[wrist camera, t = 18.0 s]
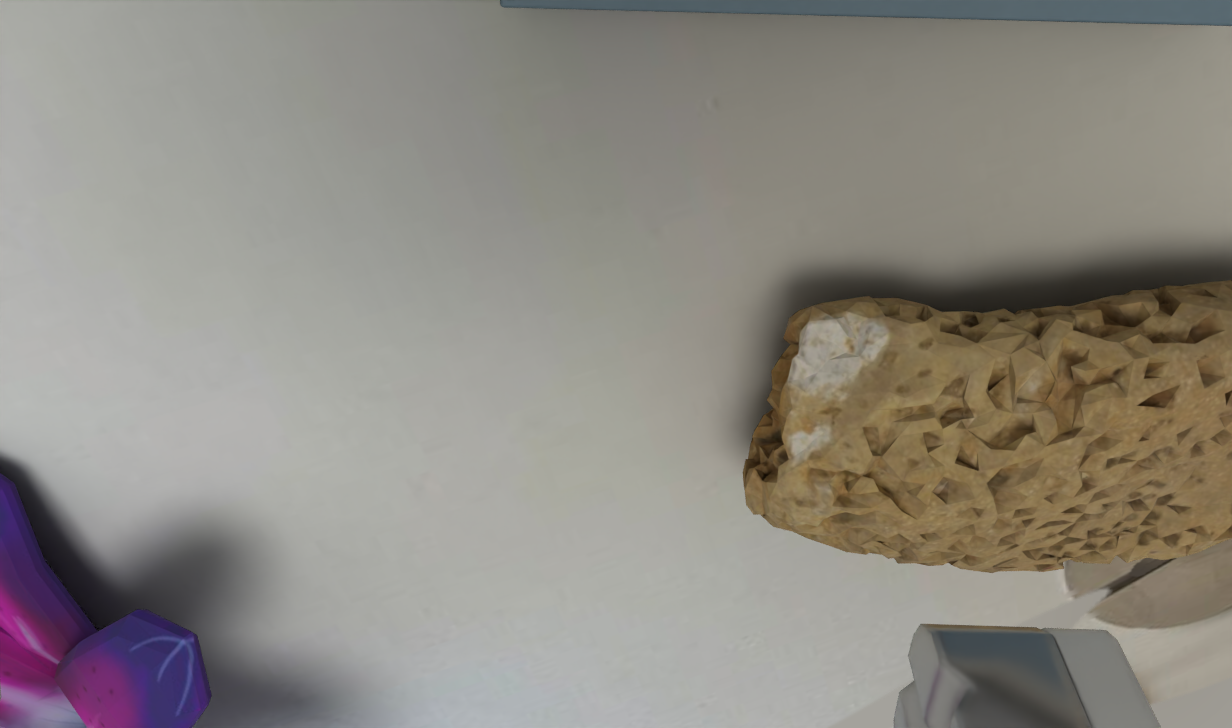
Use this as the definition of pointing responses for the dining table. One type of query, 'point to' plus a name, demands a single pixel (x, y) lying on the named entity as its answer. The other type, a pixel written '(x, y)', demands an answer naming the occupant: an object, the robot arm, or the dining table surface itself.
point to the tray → (934, 9)
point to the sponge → (1003, 430)
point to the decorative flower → (84, 650)
